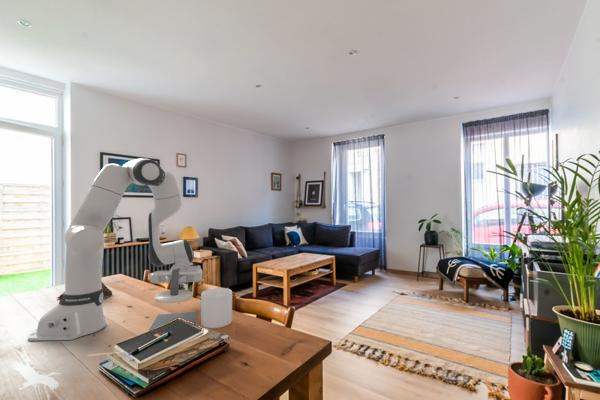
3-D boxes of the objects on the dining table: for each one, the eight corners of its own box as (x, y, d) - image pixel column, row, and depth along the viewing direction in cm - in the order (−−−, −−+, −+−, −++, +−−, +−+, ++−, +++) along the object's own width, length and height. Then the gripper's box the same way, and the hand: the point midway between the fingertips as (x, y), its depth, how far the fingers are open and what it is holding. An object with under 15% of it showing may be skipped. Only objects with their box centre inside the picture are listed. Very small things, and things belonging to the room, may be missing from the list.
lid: (150, 303, 109) (151, 273, 110) (159, 292, 123) (160, 266, 123) (190, 301, 113) (191, 272, 113) (194, 291, 126) (195, 265, 126)
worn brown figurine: (90, 306, 141) (82, 271, 138) (83, 304, 144) (75, 270, 140) (114, 294, 151) (107, 261, 148) (108, 293, 154) (101, 260, 151)
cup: (208, 331, 109) (209, 298, 109) (196, 322, 117) (196, 291, 117) (237, 323, 116) (237, 292, 116) (223, 314, 125) (223, 286, 125)
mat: (148, 331, 108) (148, 330, 108) (158, 315, 124) (158, 314, 124) (194, 327, 112) (194, 326, 112) (198, 312, 128) (198, 311, 128)
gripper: (154, 266, 128) (145, 273, 115) (204, 265, 133) (201, 272, 119) (154, 281, 128) (145, 290, 115) (203, 279, 133) (200, 288, 119)
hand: (174, 281), depth 117 cm, fingers closed on lid, 3 cm apart
